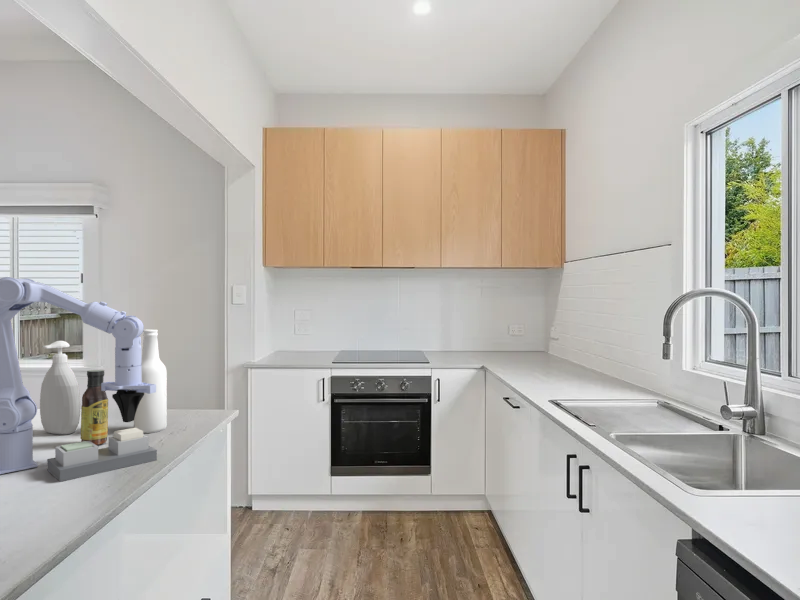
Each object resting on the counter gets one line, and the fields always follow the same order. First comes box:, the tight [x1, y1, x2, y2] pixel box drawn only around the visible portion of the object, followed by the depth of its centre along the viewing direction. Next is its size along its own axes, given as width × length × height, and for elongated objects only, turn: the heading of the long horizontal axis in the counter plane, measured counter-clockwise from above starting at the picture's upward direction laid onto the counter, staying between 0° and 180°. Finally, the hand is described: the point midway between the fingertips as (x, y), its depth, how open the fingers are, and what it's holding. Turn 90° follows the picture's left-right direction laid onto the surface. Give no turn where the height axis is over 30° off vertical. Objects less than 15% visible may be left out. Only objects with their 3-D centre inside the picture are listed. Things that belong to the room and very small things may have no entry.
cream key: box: [113, 427, 144, 442], centre depth 124 cm, size 5×5×2 cm
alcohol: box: [133, 328, 168, 434], centre depth 151 cm, size 9×9×30 cm
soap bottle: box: [39, 340, 81, 435], centre depth 148 cm, size 14×8×27 cm, turn 70°
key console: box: [46, 433, 158, 483], centre depth 120 cm, size 11×20×6 cm, turn 137°
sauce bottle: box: [80, 369, 109, 446], centre depth 137 cm, size 7×6×20 cm
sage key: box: [60, 441, 93, 452], centre depth 116 cm, size 5×5×2 cm
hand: (128, 421), depth 124 cm, fingers closed
